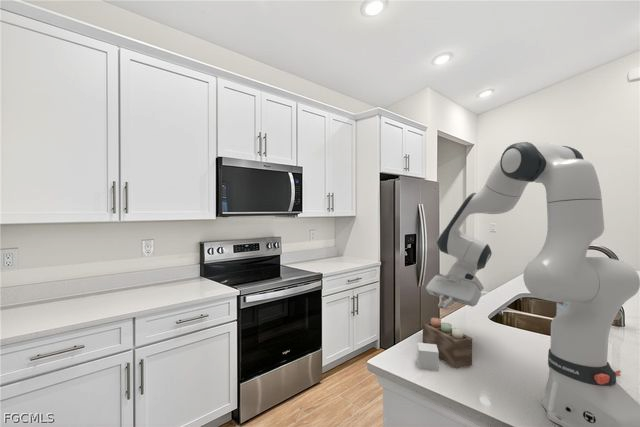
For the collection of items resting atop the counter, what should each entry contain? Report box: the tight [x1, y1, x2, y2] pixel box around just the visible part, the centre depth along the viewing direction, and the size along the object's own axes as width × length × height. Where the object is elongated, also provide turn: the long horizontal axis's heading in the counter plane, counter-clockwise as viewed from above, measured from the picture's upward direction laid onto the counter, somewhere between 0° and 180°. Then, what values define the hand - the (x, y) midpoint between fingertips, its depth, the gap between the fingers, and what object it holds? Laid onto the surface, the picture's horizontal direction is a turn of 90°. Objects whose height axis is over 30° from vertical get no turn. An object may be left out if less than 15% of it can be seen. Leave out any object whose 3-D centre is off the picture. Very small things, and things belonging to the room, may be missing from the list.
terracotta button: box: [430, 317, 442, 328], centre depth 114 cm, size 3×3×2 cm
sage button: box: [441, 322, 453, 333], centre depth 109 cm, size 3×3×2 cm
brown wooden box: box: [422, 322, 473, 370], centre depth 110 cm, size 16×7×9 cm, turn 20°
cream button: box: [452, 327, 464, 339], centre depth 105 cm, size 3×3×2 cm
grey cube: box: [416, 342, 440, 372], centre depth 103 cm, size 6×6×6 cm
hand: (441, 307), depth 116 cm, fingers closed
